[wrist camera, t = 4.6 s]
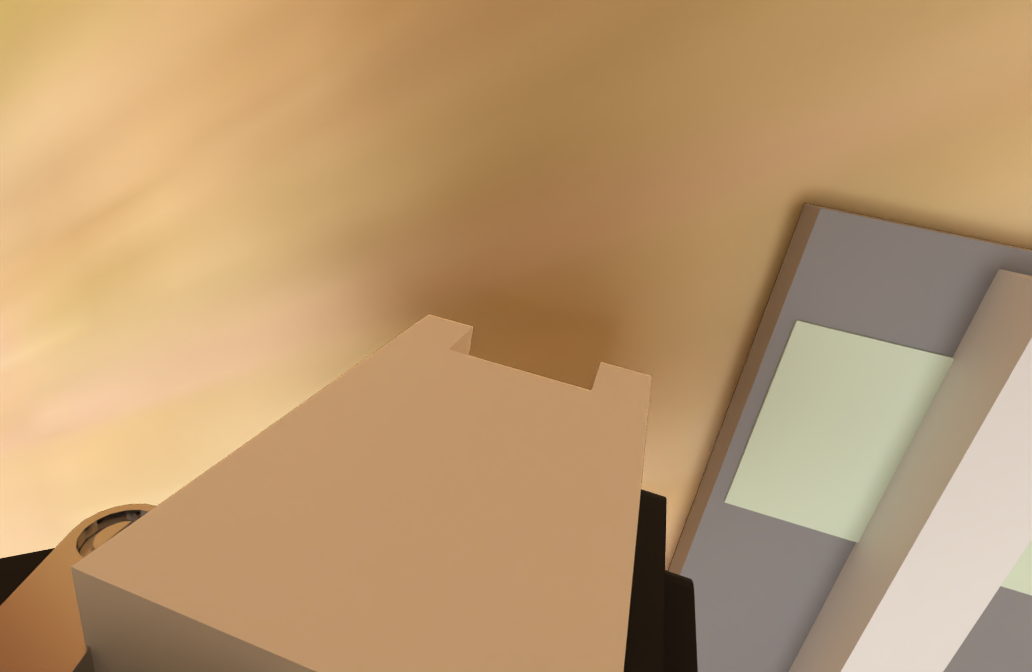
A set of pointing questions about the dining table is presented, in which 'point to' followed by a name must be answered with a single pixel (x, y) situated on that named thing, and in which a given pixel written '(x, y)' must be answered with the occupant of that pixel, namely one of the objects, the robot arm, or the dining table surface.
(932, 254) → the rail board
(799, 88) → the dining table surface
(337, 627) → the cream rectangular block
